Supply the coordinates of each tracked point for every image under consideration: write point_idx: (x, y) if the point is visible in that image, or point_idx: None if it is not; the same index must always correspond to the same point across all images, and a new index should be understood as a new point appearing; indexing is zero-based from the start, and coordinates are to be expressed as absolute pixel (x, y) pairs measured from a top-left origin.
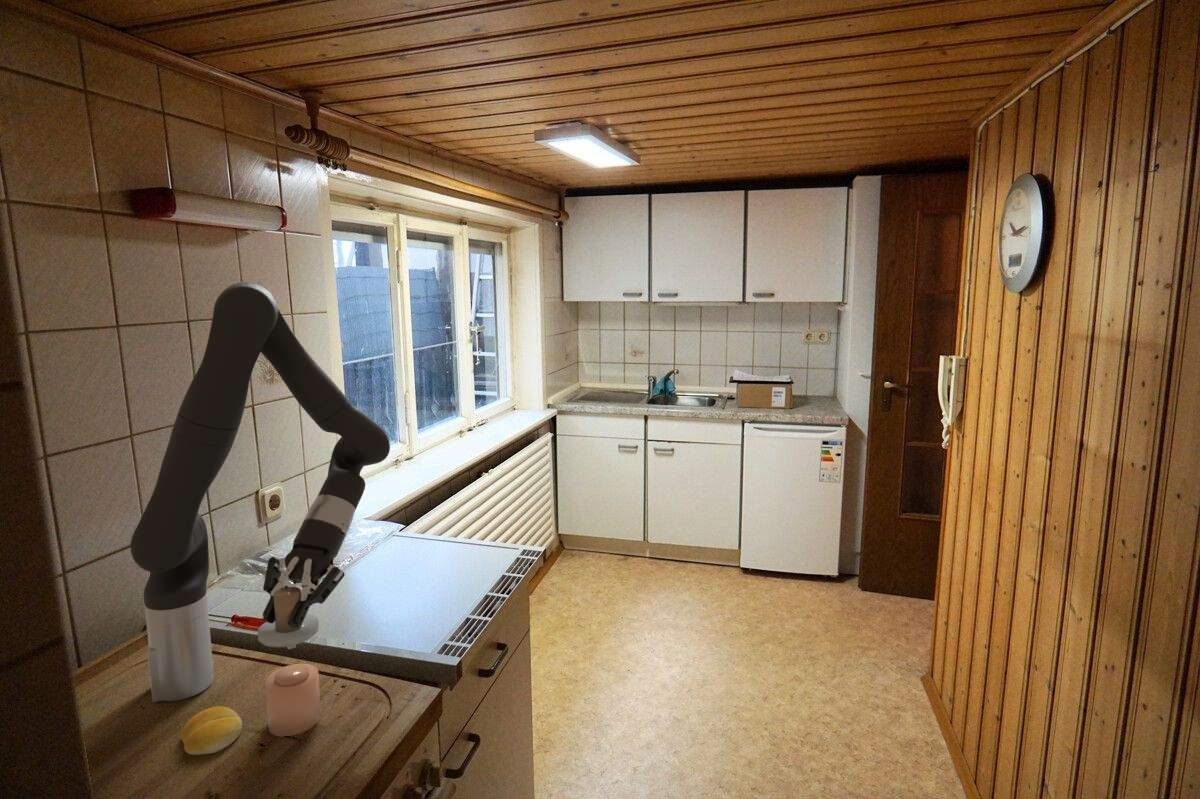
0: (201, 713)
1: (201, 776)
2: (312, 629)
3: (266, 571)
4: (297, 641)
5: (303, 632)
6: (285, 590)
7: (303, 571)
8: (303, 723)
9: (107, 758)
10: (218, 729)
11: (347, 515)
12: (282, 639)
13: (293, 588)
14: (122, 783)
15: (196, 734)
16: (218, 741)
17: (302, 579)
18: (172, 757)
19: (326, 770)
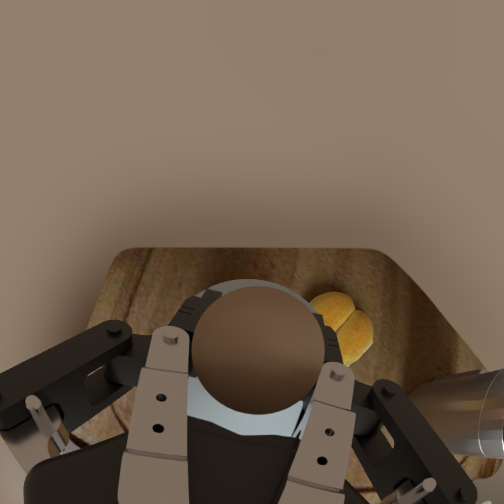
0: (361, 329)
1: (301, 265)
2: None
3: (444, 445)
4: None
5: None
6: (280, 370)
7: (207, 469)
8: None
9: (413, 287)
10: (320, 307)
11: None
12: (232, 288)
13: (249, 397)
14: (373, 255)
15: (342, 297)
16: (312, 301)
17: (185, 397)
18: (355, 293)
19: (156, 274)
